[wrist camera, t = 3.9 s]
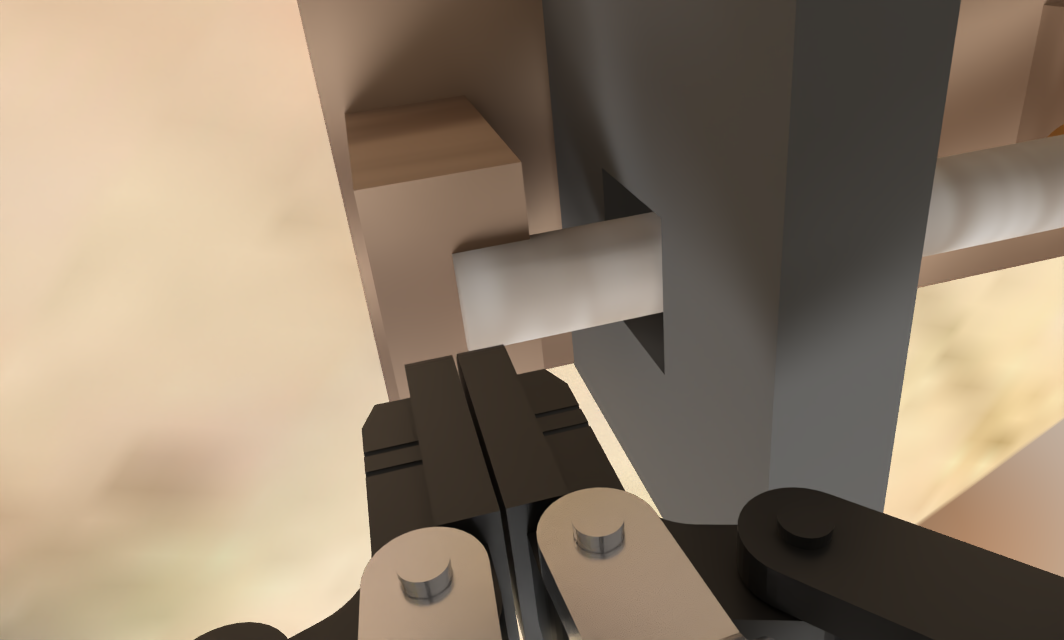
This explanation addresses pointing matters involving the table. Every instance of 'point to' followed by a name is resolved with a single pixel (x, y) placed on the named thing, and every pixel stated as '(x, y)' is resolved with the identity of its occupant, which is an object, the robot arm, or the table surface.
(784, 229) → the collar
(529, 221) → the rod stand
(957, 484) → the table surface
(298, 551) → the table surface
